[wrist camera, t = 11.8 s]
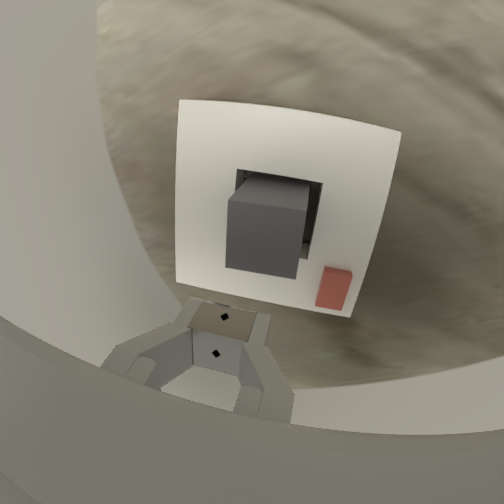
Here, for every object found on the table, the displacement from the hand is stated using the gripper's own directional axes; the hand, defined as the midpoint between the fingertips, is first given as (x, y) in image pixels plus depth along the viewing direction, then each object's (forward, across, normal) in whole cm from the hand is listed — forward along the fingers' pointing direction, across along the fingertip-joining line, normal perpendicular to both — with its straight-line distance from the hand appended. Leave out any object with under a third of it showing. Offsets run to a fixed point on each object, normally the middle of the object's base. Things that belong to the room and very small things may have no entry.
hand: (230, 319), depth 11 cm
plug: (+13, 0, 0) cm, 13 cm away
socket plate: (+13, 0, 0) cm, 13 cm away
